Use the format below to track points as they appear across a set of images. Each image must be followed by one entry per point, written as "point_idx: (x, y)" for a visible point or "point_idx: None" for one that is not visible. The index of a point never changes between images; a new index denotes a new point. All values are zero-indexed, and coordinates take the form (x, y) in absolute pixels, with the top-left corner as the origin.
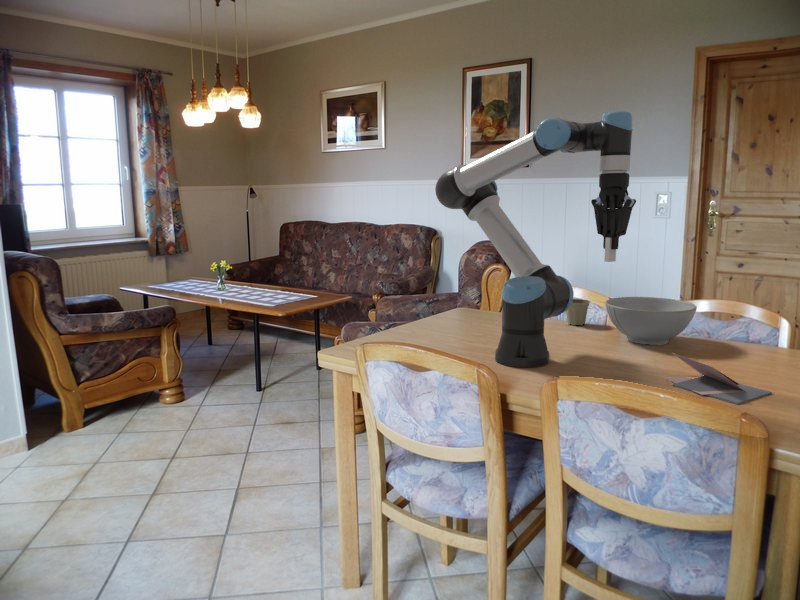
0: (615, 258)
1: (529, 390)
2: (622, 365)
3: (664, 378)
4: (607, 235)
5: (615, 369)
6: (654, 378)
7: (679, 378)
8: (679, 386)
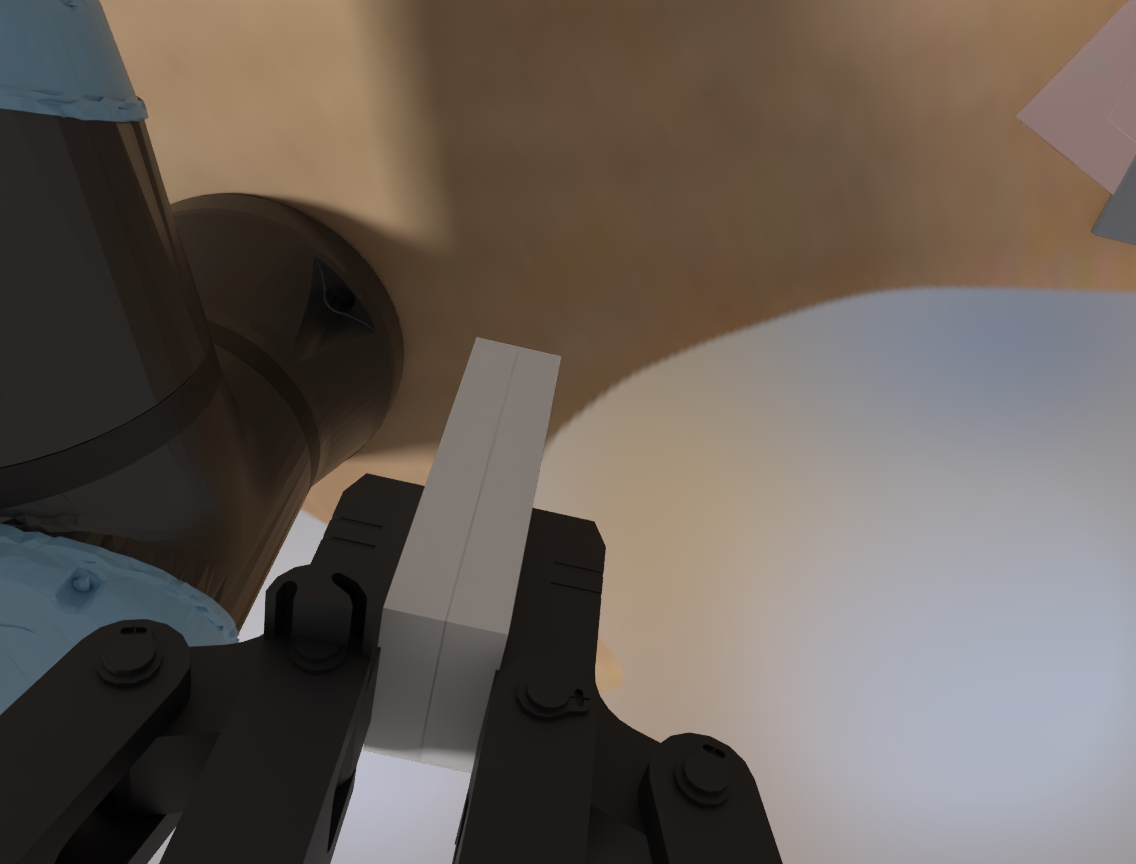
0: (555, 384)
1: None
2: (721, 24)
3: (1027, 125)
4: (359, 750)
5: (723, 144)
6: (973, 163)
7: (1112, 62)
8: (1133, 242)
